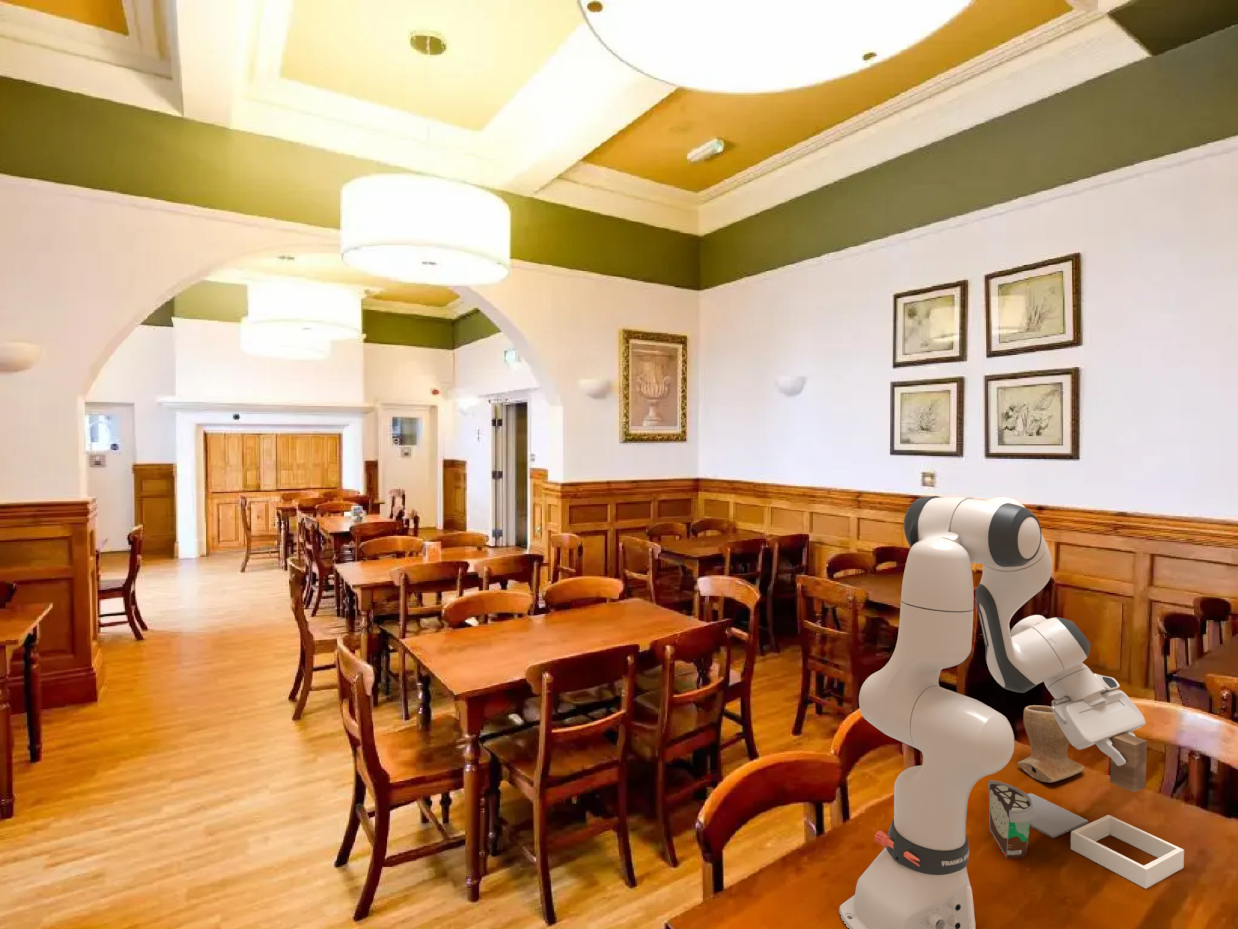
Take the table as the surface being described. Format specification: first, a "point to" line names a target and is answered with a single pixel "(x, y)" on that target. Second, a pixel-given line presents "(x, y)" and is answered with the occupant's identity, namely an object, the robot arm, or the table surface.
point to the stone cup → (1046, 747)
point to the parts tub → (1131, 870)
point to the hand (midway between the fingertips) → (1132, 761)
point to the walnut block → (1135, 769)
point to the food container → (1010, 818)
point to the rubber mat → (1053, 818)
